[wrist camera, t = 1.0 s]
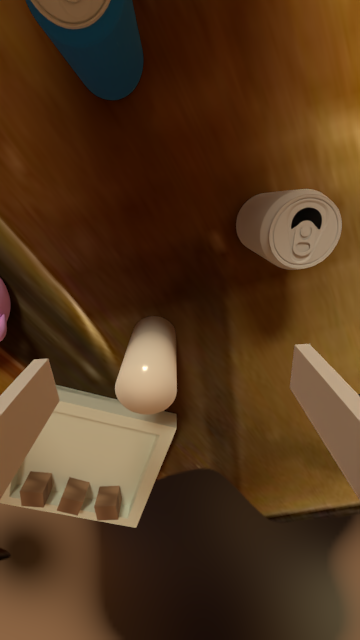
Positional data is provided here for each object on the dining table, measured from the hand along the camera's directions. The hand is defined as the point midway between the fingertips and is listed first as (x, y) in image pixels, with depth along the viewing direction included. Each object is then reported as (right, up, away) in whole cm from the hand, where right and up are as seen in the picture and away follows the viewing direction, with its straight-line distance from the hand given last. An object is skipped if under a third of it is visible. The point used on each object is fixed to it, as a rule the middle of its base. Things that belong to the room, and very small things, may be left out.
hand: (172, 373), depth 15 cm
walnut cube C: (-12, -28, +34) cm, 45 cm away
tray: (-15, -19, +31) cm, 40 cm away
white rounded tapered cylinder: (-3, +1, +23) cm, 23 cm away
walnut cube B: (-18, -26, +33) cm, 46 cm away
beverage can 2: (+10, +14, +18) cm, 25 cm away
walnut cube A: (-23, -24, +32) cm, 47 cm away
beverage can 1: (-6, +28, +12) cm, 31 cm away
